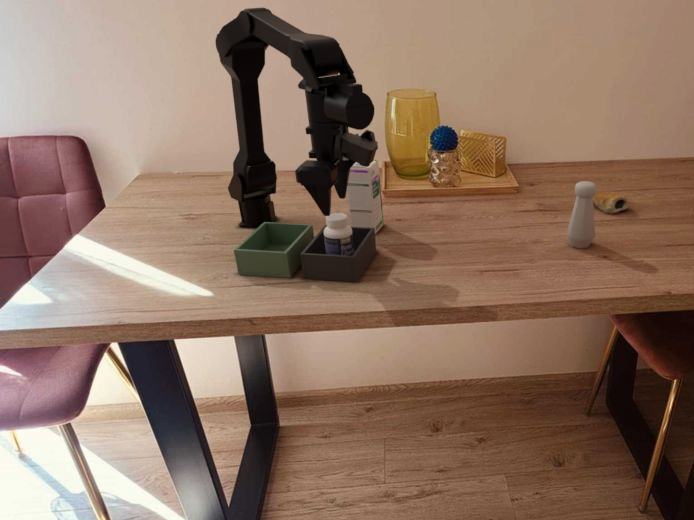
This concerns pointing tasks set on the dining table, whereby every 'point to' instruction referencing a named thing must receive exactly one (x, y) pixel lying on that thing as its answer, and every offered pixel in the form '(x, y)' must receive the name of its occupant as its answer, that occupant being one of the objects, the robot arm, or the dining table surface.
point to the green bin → (273, 249)
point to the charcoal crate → (338, 257)
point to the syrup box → (365, 196)
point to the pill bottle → (338, 235)
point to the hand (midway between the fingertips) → (335, 206)
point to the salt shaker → (582, 216)
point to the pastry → (610, 202)
